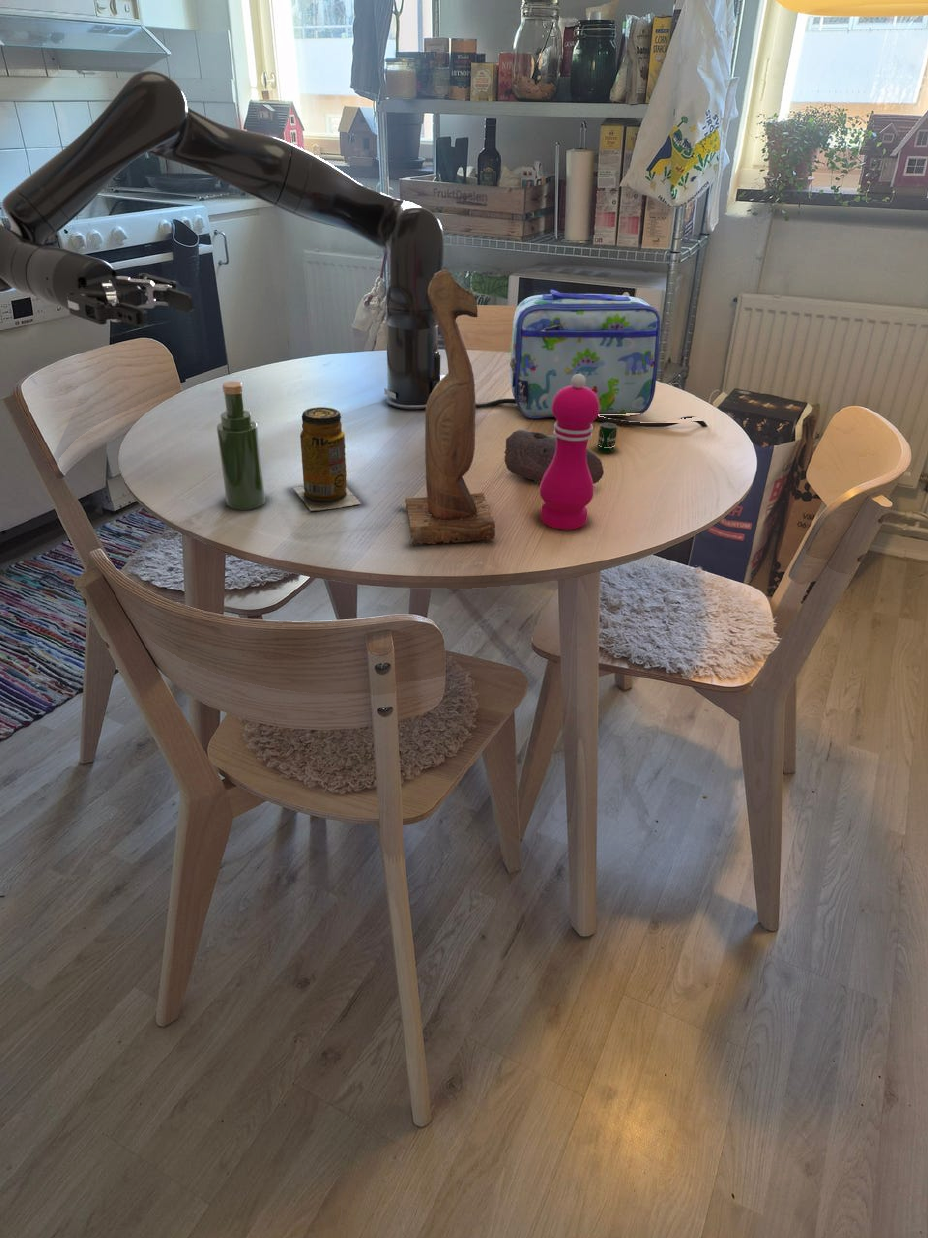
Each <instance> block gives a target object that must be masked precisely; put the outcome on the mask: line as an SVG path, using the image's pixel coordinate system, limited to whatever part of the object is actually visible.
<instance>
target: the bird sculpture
mask: <svg viewBox="0 0 928 1238" xmlns="http://www.w3.org/2000/svg"><path fill="white" fill-rule="evenodd" d="M428 297H429V300H430V303H431V305H432V307H433V310H434V313H435V316H436V319H437V322H438V330H439V332H440V336H441V339H442V342H443V346H444V351H445V355H446V361H447V362H446V363H447V373H446V374H444V375H445V376H444V378H442V379H441V380H440V382H439V383H438V384H437V385H436V386H435V388H434V390H433V391H432V393H431V395H430V397H429V399H428V402H427V405H426V409H424V410H425V411H424V413H425V416H424V418H425V419H424V423H425V424H424V429H425V430H424V431H425V432H424V434H425V435H424V459H425V460H424V462H425V481H426V483H425V486H426V496H423V497H421V496H420V497H410V498H409V497H408V498H404V504H405V507H404V508H405V510H406V511H407V516H408V518H409V519H408V521H409V524H410V525H409V530H410V535H411V536H410V537H411V540H412V546H413V547H415V545H416V544H417V543H419V545H420V546H422V545H423V544H428V545H433V546H434V545H436V544H437V543H443V544H446V543H447V544H450V542H452V543H463V542H473V541H475V542H477V541H481V540H485V541H486V540H487V539H488V540H495V537H496V524H495V521H494V518H493V517H494V516H493V515H492V513H491V510H490V507H489V505H488V504H485V503H487V500H486V496H485V493H484V492H475V493H474V492H473V493H471V492H470V491H469V488H468V486H467V484H466V482H465V479H464V477H463V476H465V475H466V474H467V472H468V471H469V469H470V468H471V466H472V464H473V461H474V457H475V451H476V408H475V407H476V404H477V403H476V391H475V390H476V388H475V386H476V384H475V383H476V382H475V376H474V372H473V365H472V363H471V360H470V357H469V354H468V351H467V348H466V346H465V342H464V341H463V338H462V335H461V331H460V328H459V324H458V322H457V318H458V317H460V316H468V317H470V318H478V305H477V300H476V297H475V295H474V293H472V292H471V291H470V290H469V289H465V288H464V287H462V286H461V285H460V284H459V282H458V283H457V281H456V280H455V279H454V276H453V275H452V273H451V271H450V269H448V268H445V269H443V270H442V271H439V272H437V273H435V275H434V277H433V278H432V280H431V281H430V284H429V288H428ZM488 540H487V541H488Z"/></svg>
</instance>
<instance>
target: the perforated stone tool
mask: <svg viewBox="0 0 928 1238" xmlns="http://www.w3.org/2000/svg"><path fill="white" fill-rule="evenodd" d="M555 450H556V436H555V435H549V434H545V433H542V432H537V431H531V430H526V429H518V430H515V431H513V432H512V433H511V434H510V435H509V436H508V437H507V438H506V439H505V450H504V451H503V453H504V463H505V467H506V469H507V470H508V471H509V472H510V473H512V474H514V475H517V476H520V477H521V478H522V477H523V478H525V479H528V480H533V481H537V482H541V481H542V478H543V476H544V474H545V472H546V470H547V469H548V467H549V465H550V463H551V461H552V459H553V457H554V454H555ZM586 459H587V465H588V468H589V471H590V474H591V477H592V480H593V485H594V484H597V483H599V482H600V481H601V479H603V476H604V475H605V471H604V465H603V462H602V460H601V458H600V457H599V456H598V455H597V454H595V453H594V452H593V451H591V450H590V449H588V448H587V449H586Z"/></svg>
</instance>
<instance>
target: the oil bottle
mask: <svg viewBox="0 0 928 1238" xmlns="http://www.w3.org/2000/svg"><path fill="white" fill-rule="evenodd" d="M222 392H223V394H224V402H225V403H224V404H225V408H226V409H225V410H226V411H224V412H222V413H221V414H220V420H221V421H220V423H218V424H217V425H216V432H217V439H218V449H219V456H220V462H221V471H222V478H223V485H224V493H225V501H226V505H227V507H229V508H230V509H232V510H238V511H240V510H241V511H249V510H255V509H258V508H260V507H262V506H263V505H264V504H265V503H266V496H265V487H264V486H265V485H264V476H263V468H262V467H263V466H262V457H261V447H260V439H259V438H260V437H259V428H258V427H259V426H258V424H257V423H256V422H255V421H253V420H252V414H251V412H250V411H247V410H245V407H244V399H243V384H242V382H239V381H227V382H224V383H222Z"/></svg>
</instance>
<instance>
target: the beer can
mask: <svg viewBox="0 0 928 1238" xmlns="http://www.w3.org/2000/svg"><path fill="white" fill-rule="evenodd" d="M617 432H618V424H614V423H609V422H602V423H601V424H600V427H599V432H598V440H597V448H596V449H597V452H599V453H601V454H612V453H613V452H615V447H616V442H617V441H616V440H617ZM599 445H600V446H602V447H600V446H599ZM614 445H615V446H614ZM612 446H614V447H612ZM604 447H612V448H604Z"/></svg>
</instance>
